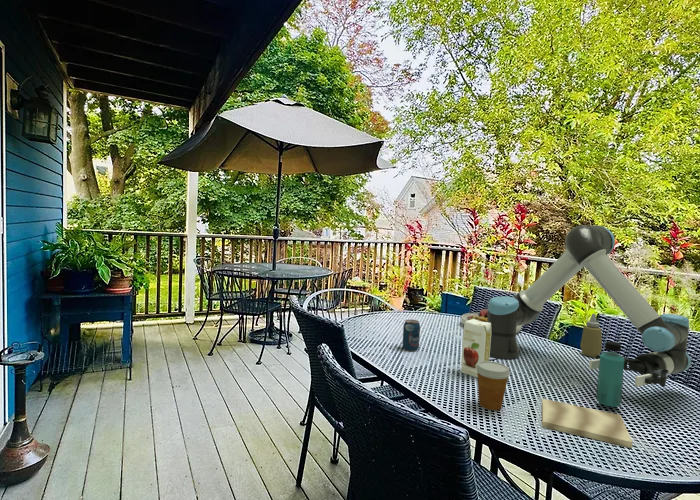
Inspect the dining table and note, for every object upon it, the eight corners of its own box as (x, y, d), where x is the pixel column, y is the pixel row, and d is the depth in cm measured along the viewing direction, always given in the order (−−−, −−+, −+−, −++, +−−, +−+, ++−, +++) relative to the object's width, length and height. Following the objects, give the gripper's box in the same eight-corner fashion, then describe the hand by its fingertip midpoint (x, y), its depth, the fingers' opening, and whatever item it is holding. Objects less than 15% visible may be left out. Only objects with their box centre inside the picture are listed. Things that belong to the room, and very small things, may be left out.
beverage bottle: (624, 413, 117) (631, 347, 116) (599, 410, 119) (606, 344, 117) (614, 403, 124) (621, 340, 122) (591, 400, 125) (597, 338, 124)
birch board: (542, 426, 107) (542, 421, 107) (542, 403, 122) (542, 398, 122) (631, 447, 99) (632, 442, 99) (620, 420, 113) (620, 414, 113)
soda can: (411, 353, 163) (413, 324, 162) (398, 348, 169) (400, 320, 168) (422, 349, 168) (423, 321, 167) (409, 345, 173) (411, 318, 172)
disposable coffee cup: (468, 398, 123) (471, 360, 122) (498, 398, 124) (501, 360, 123) (481, 413, 114) (484, 372, 113) (513, 413, 114) (516, 372, 113)
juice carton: (468, 367, 149) (472, 317, 148) (490, 374, 143) (494, 322, 142) (458, 372, 144) (461, 320, 143) (480, 380, 138) (484, 326, 137)
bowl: (531, 338, 194) (533, 322, 194) (470, 335, 195) (471, 319, 194) (508, 322, 224) (509, 309, 224) (454, 320, 225) (455, 306, 224)
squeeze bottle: (598, 353, 174) (602, 313, 173) (603, 359, 166) (607, 317, 165) (577, 351, 177) (581, 310, 175) (581, 356, 169) (585, 314, 168)
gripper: (698, 391, 118) (657, 402, 109) (613, 362, 141) (572, 370, 132) (701, 367, 118) (660, 376, 109) (615, 342, 140) (574, 347, 131)
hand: (612, 372), depth 120 cm, fingers open, 13 cm apart
